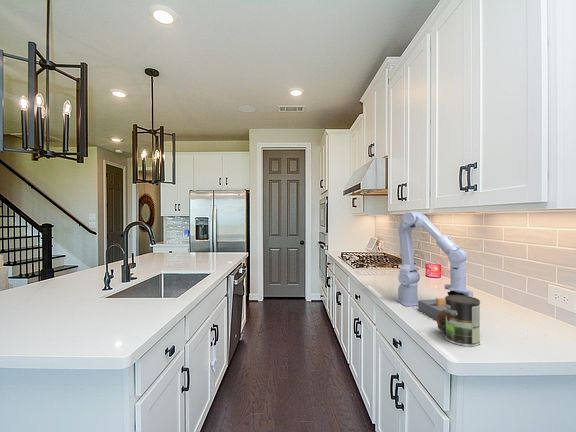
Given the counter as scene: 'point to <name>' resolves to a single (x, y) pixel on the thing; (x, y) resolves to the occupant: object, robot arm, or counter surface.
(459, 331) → the coffee can
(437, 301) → the orange rectangular block
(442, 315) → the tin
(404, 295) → the robot arm
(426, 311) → the dispenser
